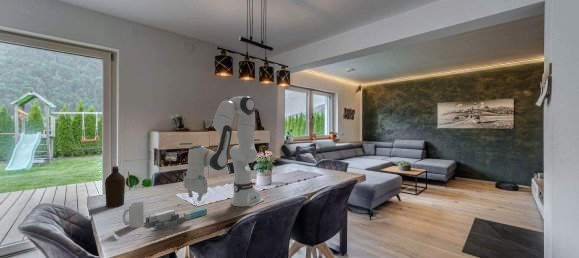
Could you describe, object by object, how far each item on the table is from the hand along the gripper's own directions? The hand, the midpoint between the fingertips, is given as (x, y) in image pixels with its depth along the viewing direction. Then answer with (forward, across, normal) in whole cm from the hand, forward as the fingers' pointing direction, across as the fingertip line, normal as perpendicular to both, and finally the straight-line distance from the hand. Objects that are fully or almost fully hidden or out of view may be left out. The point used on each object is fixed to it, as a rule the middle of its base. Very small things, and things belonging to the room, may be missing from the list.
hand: (194, 198), depth 137 cm
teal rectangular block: (+11, 0, -1) cm, 11 cm away
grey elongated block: (+10, +7, +14) cm, 19 cm away
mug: (+12, +10, +27) cm, 31 cm away
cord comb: (+11, +4, +14) cm, 18 cm away
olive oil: (+12, +57, +23) cm, 63 cm away
